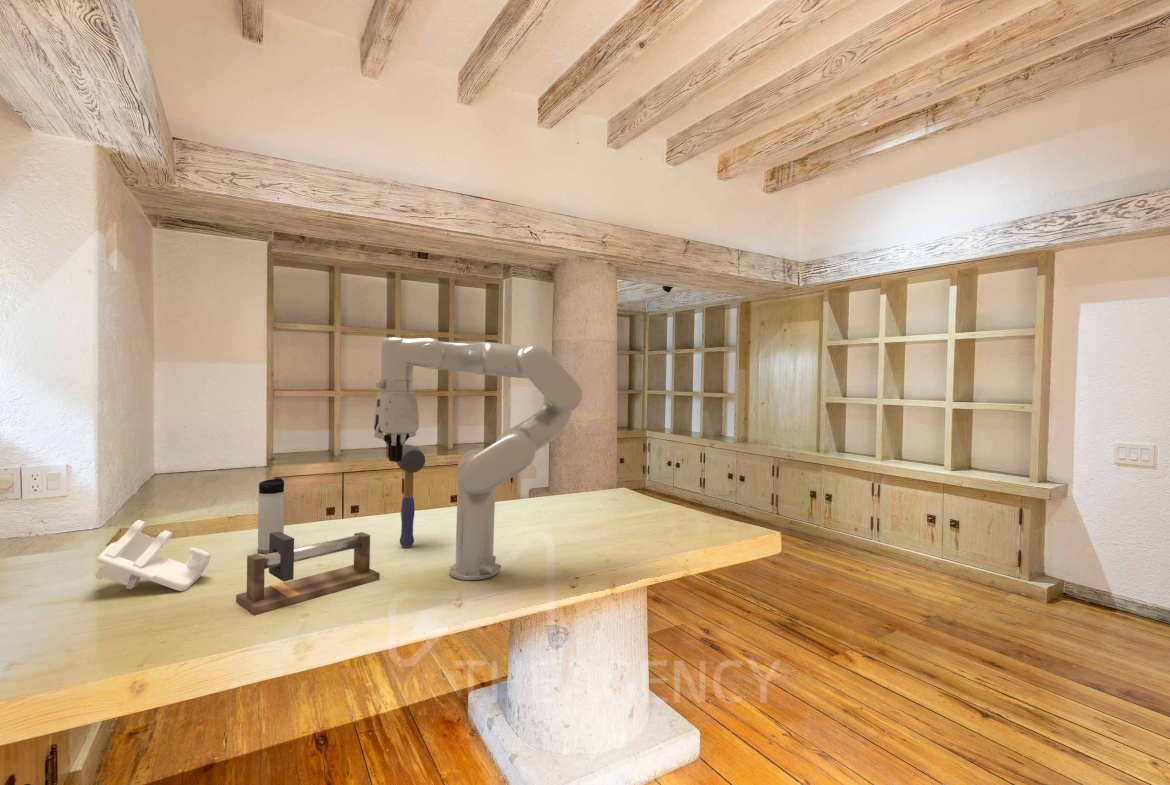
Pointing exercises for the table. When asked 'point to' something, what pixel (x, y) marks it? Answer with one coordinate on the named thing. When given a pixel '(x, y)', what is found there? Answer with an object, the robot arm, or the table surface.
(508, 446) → the robot arm
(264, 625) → the table surface
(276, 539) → the collar
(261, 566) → the pipe stand
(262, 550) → the travel mug
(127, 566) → the white angular bracket piece
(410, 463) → the rubber mallet
